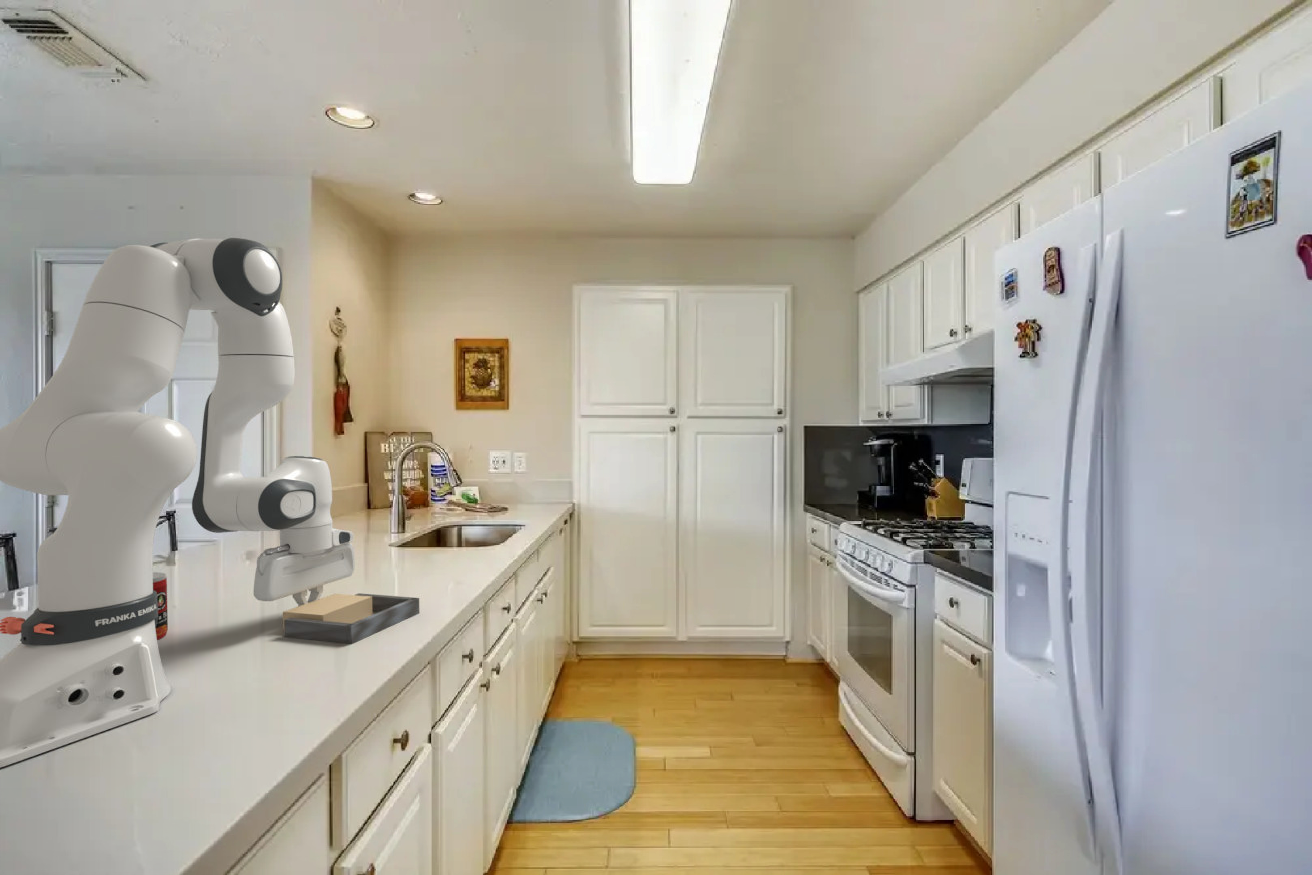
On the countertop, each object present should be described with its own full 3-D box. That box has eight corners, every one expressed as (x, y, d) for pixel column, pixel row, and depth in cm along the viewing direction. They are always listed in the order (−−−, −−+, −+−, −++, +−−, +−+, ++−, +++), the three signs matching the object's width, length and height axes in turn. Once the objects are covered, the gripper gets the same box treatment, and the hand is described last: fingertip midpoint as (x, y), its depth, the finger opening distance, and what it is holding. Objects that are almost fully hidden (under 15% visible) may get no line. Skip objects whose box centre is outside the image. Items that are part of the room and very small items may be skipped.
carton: (323, 637, 105) (323, 615, 105) (283, 633, 107) (282, 611, 107) (372, 616, 117) (372, 596, 117) (335, 613, 119) (334, 593, 119)
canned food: (142, 647, 100) (140, 582, 100) (96, 647, 100) (94, 583, 100) (179, 631, 108) (178, 571, 108) (136, 631, 108) (135, 572, 108)
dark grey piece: (352, 643, 100) (351, 626, 100) (284, 636, 104) (284, 619, 104) (419, 613, 117) (419, 598, 117) (359, 607, 121) (358, 593, 121)
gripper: (271, 551, 103) (273, 630, 103) (359, 531, 123) (360, 598, 123) (243, 550, 105) (245, 627, 105) (334, 530, 124) (336, 596, 124)
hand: (308, 611), depth 114 cm, fingers closed, pressing on carton
